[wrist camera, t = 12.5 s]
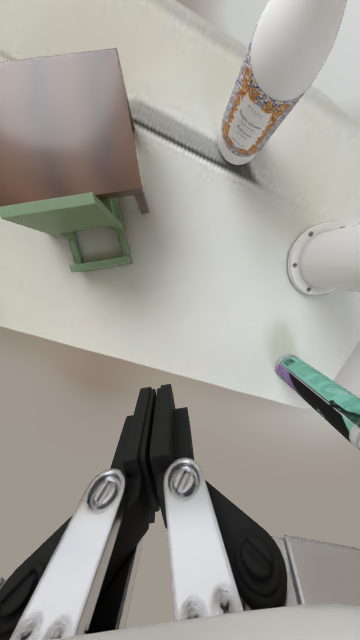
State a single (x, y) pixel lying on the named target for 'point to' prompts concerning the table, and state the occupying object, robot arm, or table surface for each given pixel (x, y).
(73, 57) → the side table
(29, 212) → the chair
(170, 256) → the table surface
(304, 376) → the spray can
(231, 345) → the table surface
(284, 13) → the bath foam
